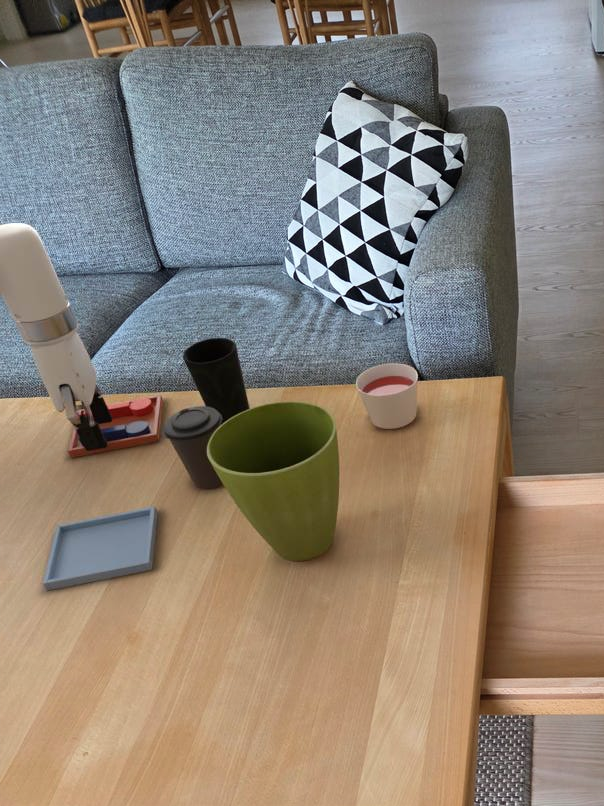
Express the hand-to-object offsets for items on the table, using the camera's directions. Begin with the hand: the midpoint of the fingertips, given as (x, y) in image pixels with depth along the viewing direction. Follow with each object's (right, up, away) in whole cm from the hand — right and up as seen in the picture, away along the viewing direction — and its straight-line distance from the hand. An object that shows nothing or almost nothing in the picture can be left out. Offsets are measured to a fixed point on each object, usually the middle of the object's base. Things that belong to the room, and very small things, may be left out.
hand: (99, 434), depth 132 cm
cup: (+20, +2, +2) cm, 20 cm away
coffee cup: (+20, -8, -8) cm, 23 cm away
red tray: (+1, +2, +4) cm, 4 cm away
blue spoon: (+2, 0, +1) cm, 2 cm away
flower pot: (+35, -19, -21) cm, 45 cm away
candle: (+45, +2, -2) cm, 45 cm away
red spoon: (+1, +5, +6) cm, 7 cm away
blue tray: (+8, -19, -18) cm, 28 cm away
